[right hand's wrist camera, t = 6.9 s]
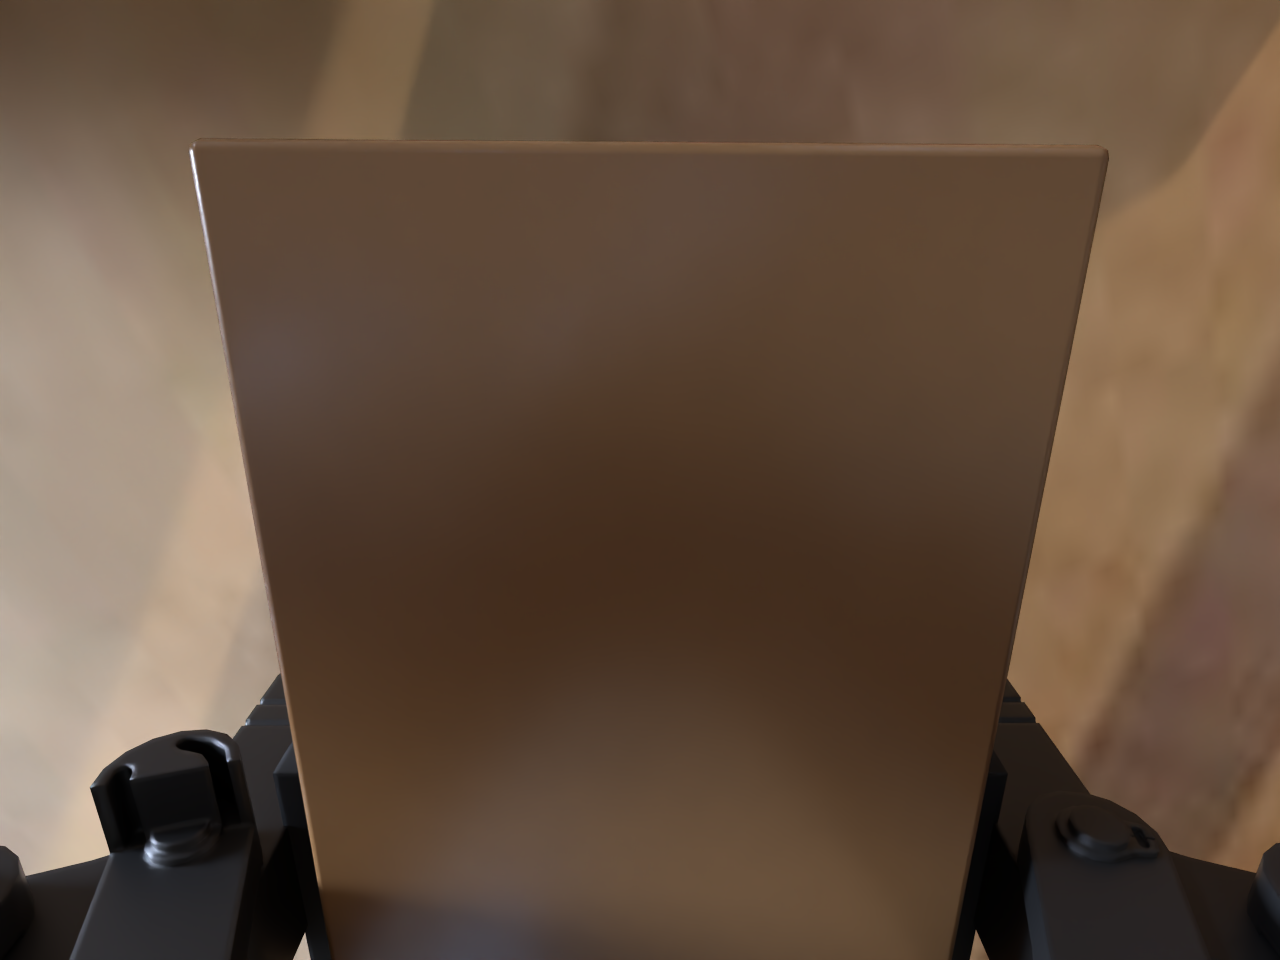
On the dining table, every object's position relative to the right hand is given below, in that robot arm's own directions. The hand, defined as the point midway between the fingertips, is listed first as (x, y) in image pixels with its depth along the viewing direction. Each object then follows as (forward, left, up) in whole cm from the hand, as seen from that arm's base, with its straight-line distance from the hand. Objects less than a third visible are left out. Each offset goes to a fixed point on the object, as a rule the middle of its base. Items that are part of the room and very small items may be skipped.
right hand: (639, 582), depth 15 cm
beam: (+11, -19, -1) cm, 22 cm away
